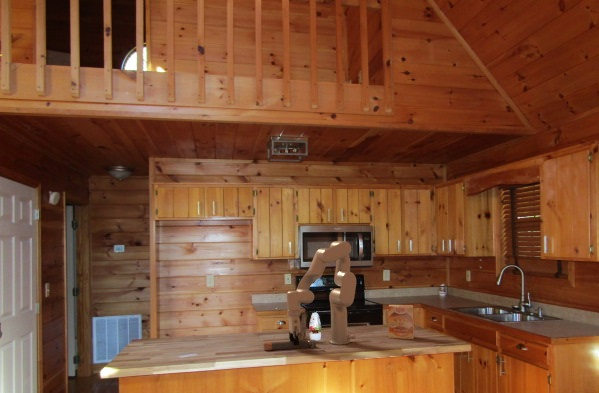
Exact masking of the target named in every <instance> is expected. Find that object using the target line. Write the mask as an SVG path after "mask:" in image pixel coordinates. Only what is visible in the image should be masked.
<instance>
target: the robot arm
mask: <svg viewBox="0 0 599 393" xmlns="http://www.w3.org/2000/svg"><path fill="white" fill-rule="evenodd" d="M351 252H352V246H351V244H350V242H348V241H346V240H345V241H342V240H336V241H332V242H331V243H330V245H329V247H328V248H324V247H323V248H319V249H317V250H316V252H315V254H314V256H313V259H312V261H311V264H310V266H309V267H308V270H307V271H306V273H305V274H304V276H303V277H301V279H300V281H299V282H298V285H297V288H296V290H289V291H287V292H286V311H287V312H286V316H287V317H288V330H289V331H290V339H289V341H293V345H294V346H296V345H299V341H300V340H299V334H300V333H301V332H300V319H299V316H300V312H301V304H310V303H313V301H314V299H315V295H314V294H315V293H313V291H312V290H310V288H311V286H312V285H313V284H314V283H315V281H318V280H319V279H321V277H322V276H323V274H324V271H325V268H326V267H327V264H331V263H334V262H336V264H335V270H334V277H333V278H334V279H333V280H334V281H333V282H334V284H335V285H336V286H338V287H340V288H334V289H333V288H332V290H331V291H330V292H329V298H328V299H329V303H330V304H329V305H330V324H331V325H330V326H331V327H330V329H331V331H330V332H331V334H330V335H331V336H330V337H331V338H330V339H329V340H328V343H329V344H332V345H348V344H350V343H351V340H354V339H356V335H355V334H353V335H352V334H348V310H347V308H348V307H350V306H352V305H353V303H354V299H355V295H356V287H357V278H356V275H355V274H354V273H353V272H351V257H350V255H349V254H351ZM289 331H288V332H289ZM298 333H299V334H298Z"/></svg>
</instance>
